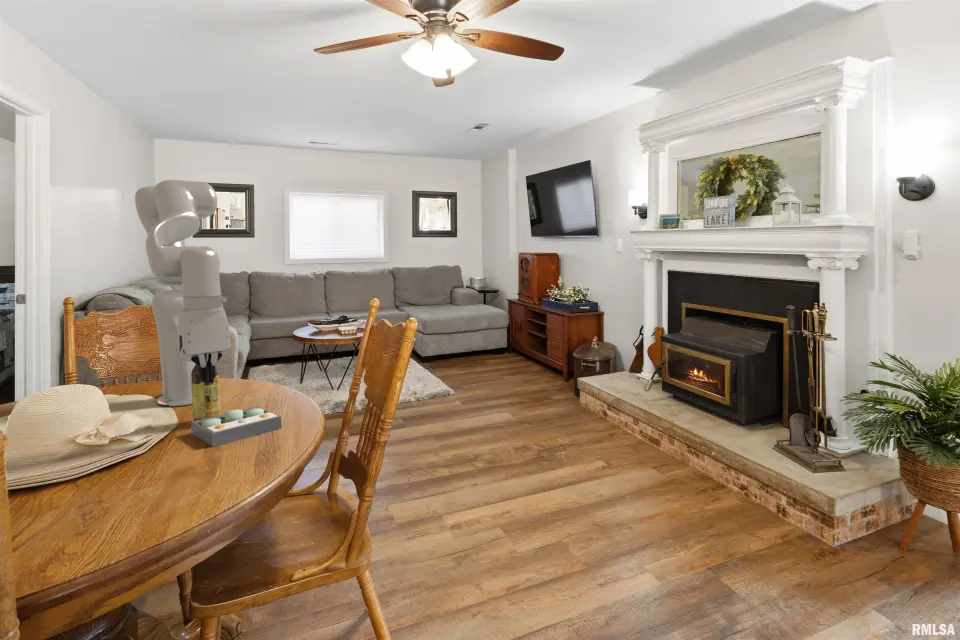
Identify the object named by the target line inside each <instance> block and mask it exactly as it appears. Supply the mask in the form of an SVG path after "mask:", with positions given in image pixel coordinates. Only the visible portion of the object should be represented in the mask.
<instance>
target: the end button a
mask: <svg viewBox="0 0 960 640" xmlns="http://www.w3.org/2000/svg"><path fill="white" fill-rule="evenodd" d="M219 424H221V419H218V418H213V419H207V420H204V421H202V427H204V428H207V427H211V426H215V425H219Z"/></svg>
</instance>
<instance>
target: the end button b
mask: <svg viewBox="0 0 960 640" xmlns="http://www.w3.org/2000/svg"><path fill="white" fill-rule="evenodd" d="M261 408H262V407H260V408H255V409H250V410H247V411H246V415H247V416H249V417H252V416H256V415H260V414H264V409H265V408H263V409H261Z"/></svg>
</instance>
